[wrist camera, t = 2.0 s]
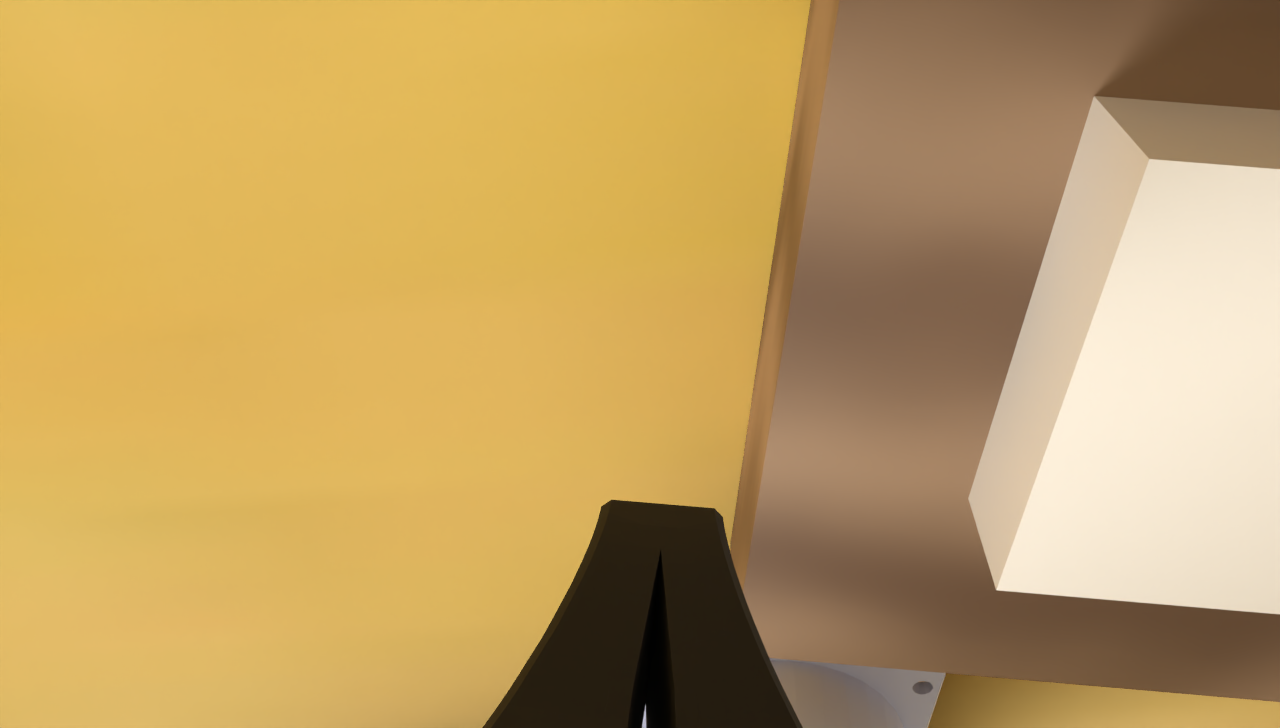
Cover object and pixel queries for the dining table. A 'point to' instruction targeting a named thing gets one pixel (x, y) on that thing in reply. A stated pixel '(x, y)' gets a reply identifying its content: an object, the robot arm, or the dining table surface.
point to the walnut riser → (953, 333)
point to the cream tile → (1148, 372)
